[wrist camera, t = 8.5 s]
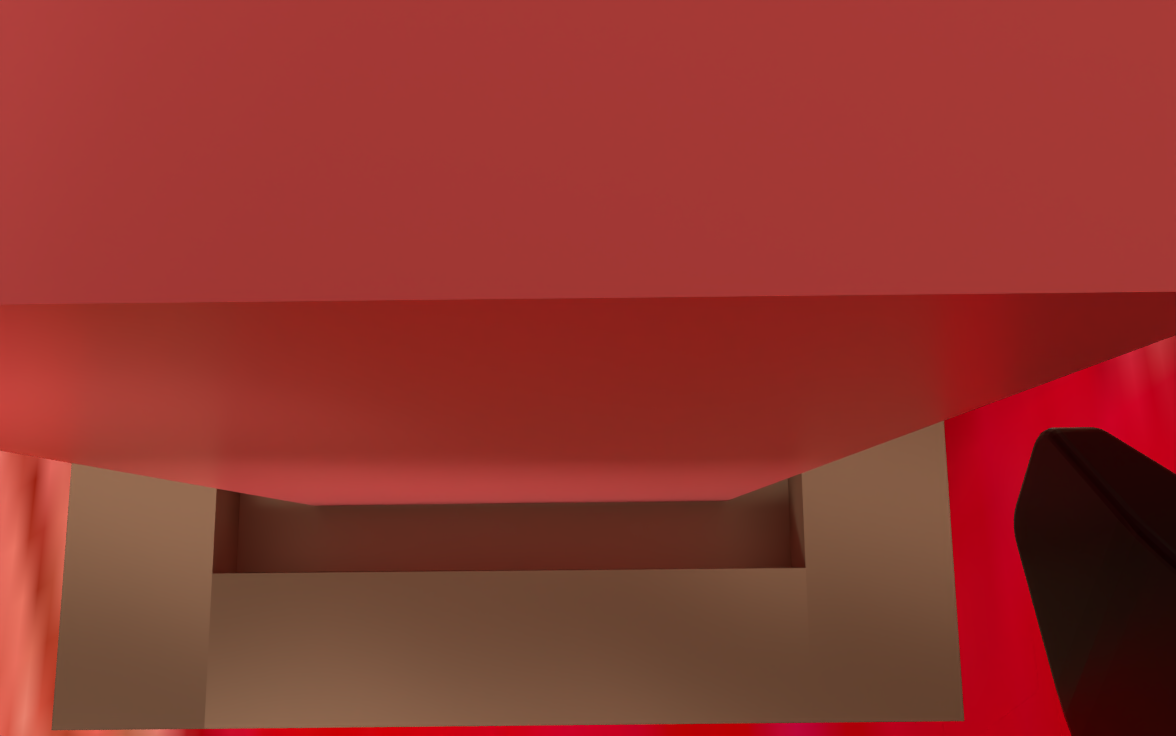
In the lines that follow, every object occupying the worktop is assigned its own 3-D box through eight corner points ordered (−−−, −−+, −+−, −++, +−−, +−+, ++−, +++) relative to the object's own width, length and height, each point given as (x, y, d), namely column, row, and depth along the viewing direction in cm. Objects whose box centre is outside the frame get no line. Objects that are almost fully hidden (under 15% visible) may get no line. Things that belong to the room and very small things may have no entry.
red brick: (726, 500, 15) (1295, 289, 3) (314, 505, 15) (-783, 312, 3) (713, 112, 16) (1098, -1205, 4) (327, 116, 16) (-449, -1201, 4)
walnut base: (880, 684, 18) (964, 720, 14) (169, 691, 18) (51, 729, 14) (843, 24, 20) (908, -106, 16) (207, 29, 20) (114, -101, 16)
